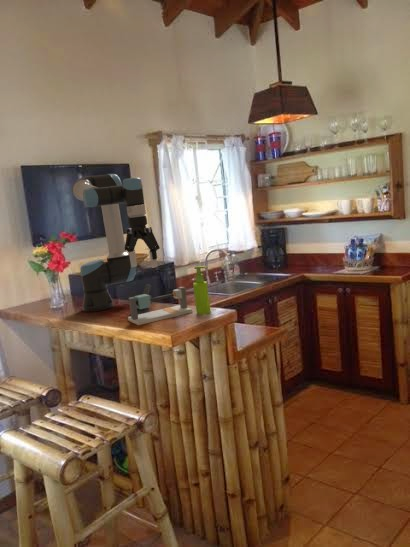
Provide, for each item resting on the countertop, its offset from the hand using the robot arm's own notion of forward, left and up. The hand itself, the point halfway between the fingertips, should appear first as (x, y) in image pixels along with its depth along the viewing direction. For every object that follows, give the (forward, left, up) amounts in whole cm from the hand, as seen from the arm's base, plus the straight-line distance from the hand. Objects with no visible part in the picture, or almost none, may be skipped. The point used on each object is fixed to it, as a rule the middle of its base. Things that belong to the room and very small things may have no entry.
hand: (144, 267), depth 209 cm
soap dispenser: (+10, +20, -23) cm, 32 cm away
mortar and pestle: (-18, +3, -23) cm, 29 cm away
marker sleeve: (-2, -2, -17) cm, 17 cm away
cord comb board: (-2, +5, -22) cm, 23 cm away
